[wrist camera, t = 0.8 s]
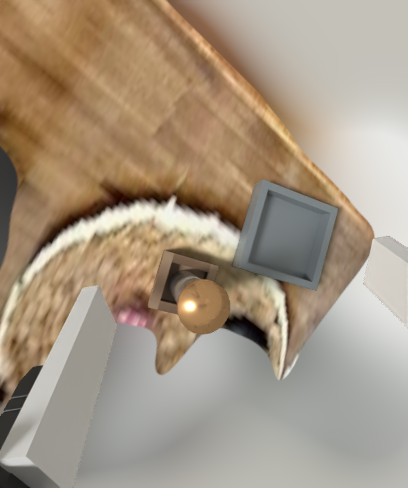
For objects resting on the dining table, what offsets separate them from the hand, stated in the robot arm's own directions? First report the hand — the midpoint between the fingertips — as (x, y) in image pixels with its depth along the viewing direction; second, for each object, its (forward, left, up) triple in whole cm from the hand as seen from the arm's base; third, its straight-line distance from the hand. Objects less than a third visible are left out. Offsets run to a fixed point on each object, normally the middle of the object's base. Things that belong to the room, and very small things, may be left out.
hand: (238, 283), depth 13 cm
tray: (-7, +13, -22) cm, 26 cm away
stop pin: (+3, +1, -21) cm, 21 cm away
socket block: (+3, +1, -22) cm, 22 cm away
